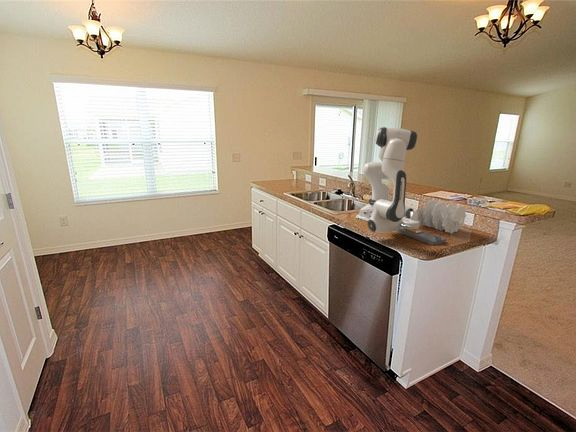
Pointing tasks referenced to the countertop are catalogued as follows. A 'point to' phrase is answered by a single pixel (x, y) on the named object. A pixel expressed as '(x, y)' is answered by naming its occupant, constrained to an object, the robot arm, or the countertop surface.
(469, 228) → the countertop surface
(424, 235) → the board
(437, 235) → the hook
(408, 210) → the ceramic mug
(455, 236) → the countertop surface
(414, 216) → the metal post on plate
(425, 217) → the spiral staircase
